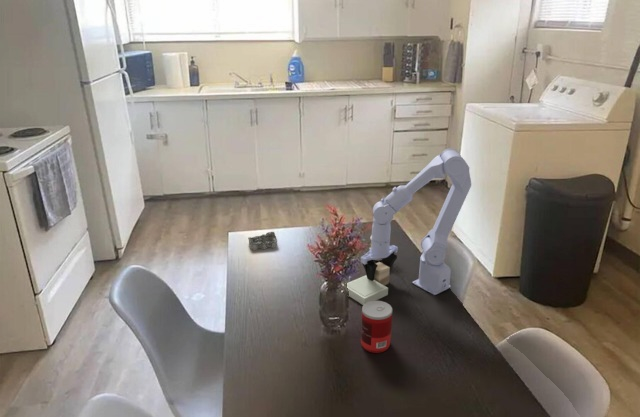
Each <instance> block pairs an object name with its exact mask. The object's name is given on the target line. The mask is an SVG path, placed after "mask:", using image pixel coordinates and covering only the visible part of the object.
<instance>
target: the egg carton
mask: <svg viewBox="0 0 640 417" xmlns="http://www.w3.org/2000/svg"><path fill="white" fill-rule="evenodd" d="M248 246H249V249H250V250H254V251H257V250H258V249H261V250H262V249H263V250H266V249H267V248H272V249H275V248H276V247H278V238H277V235H276V233H275V231H268V232H266V234H262V235H255V236H253V237H252V236H249V237H248Z"/></svg>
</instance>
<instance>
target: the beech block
mask: <svg viewBox="0 0 640 417" xmlns="http://www.w3.org/2000/svg"><path fill="white" fill-rule="evenodd" d="M375 264H377V265H378V266H377V268H376V270H375V275H374V280H375V281H377V282H379V283H381V284H382V285H384V286H386V285H389V283H390V282H389V281H390V272H389V269H390V267H388V266H386V265H385V264H383V263H382V261H381V262H380V261H378V262H375ZM390 270H391V269H390Z"/></svg>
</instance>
